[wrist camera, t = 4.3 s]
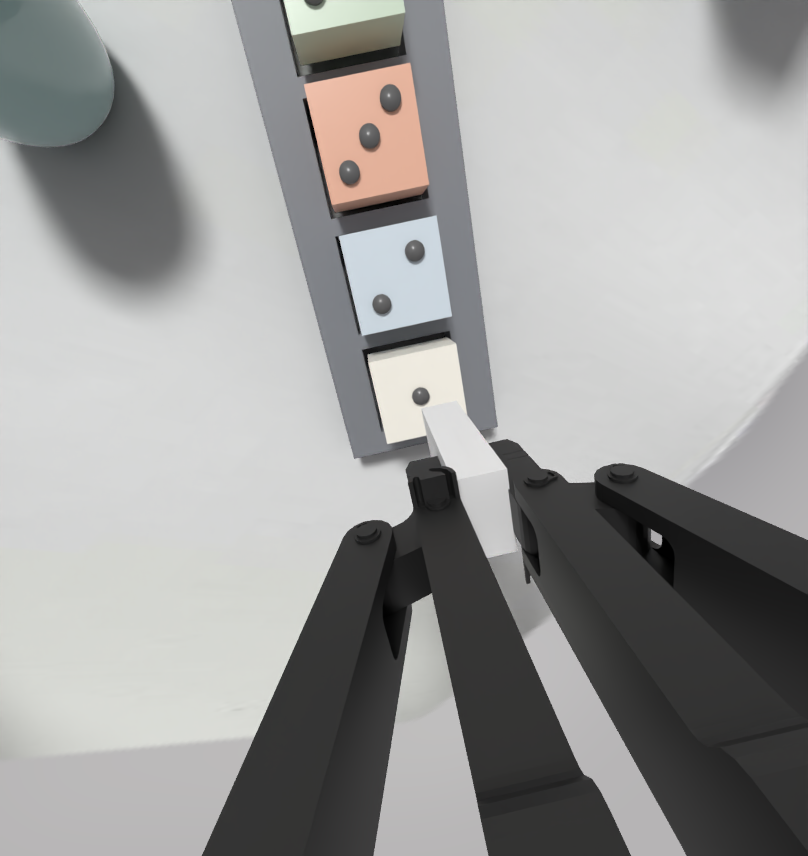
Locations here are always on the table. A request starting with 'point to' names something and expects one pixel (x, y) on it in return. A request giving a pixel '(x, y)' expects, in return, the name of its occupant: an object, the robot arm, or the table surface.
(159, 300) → the table surface
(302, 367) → the table surface
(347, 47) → the tile
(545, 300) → the table surface
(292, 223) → the board
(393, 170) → the tile
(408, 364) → the tile
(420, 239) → the tile
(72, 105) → the cup
